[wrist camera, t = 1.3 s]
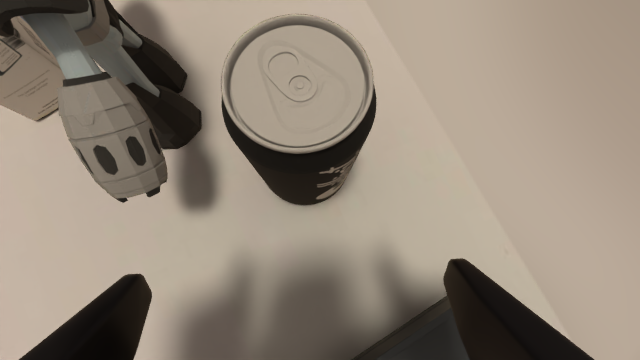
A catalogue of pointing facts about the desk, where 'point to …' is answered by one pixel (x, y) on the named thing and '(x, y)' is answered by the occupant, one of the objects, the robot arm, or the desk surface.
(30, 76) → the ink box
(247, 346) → the desk surface
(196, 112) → the robot
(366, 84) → the beverage can
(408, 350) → the serving tray
